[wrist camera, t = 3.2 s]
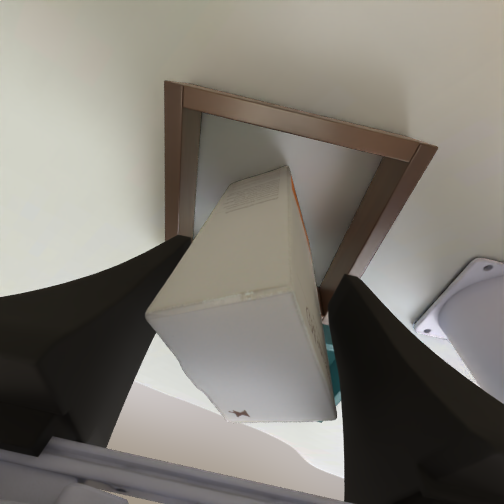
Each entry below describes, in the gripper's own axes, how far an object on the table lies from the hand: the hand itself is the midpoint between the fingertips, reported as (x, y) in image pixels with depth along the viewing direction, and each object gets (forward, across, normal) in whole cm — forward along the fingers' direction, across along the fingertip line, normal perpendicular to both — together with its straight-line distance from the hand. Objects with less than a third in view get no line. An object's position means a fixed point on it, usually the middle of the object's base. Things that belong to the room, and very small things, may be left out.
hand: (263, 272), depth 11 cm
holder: (+7, 0, 0) cm, 7 cm away
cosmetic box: (+7, 0, 0) cm, 7 cm away
